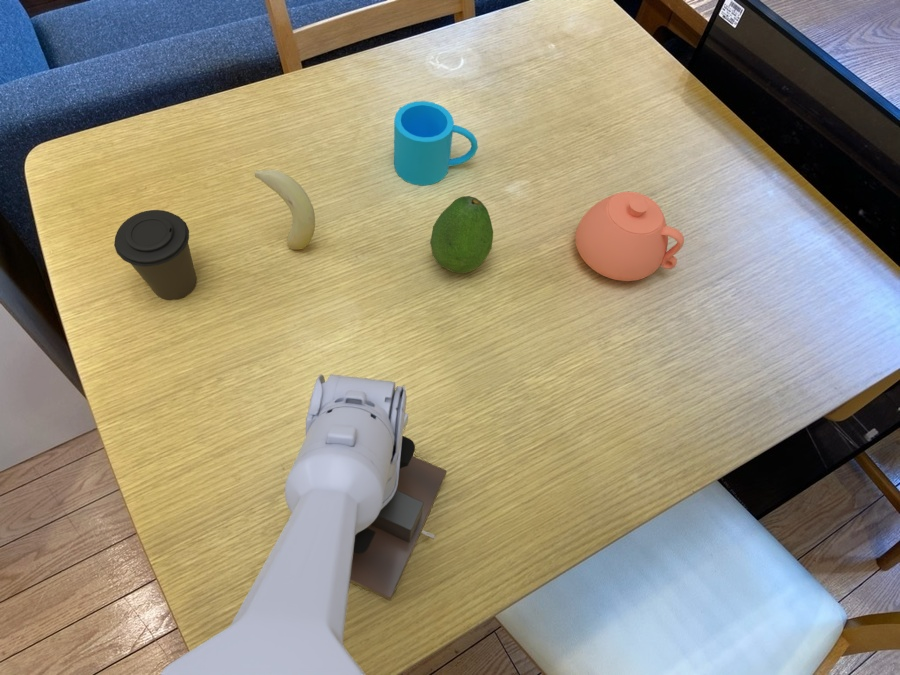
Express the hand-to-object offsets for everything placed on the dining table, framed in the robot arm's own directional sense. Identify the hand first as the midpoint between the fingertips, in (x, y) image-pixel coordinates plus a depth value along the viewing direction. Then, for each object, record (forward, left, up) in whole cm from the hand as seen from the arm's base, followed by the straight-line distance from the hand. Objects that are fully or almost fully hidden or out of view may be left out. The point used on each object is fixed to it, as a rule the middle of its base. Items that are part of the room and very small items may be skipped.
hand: (367, 505), depth 64 cm
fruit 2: (+35, +4, -3) cm, 35 cm away
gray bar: (0, 0, -1) cm, 1 cm away
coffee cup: (+16, +35, -3) cm, 39 cm away
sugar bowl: (+46, -16, -3) cm, 49 cm away
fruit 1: (+28, +25, -3) cm, 38 cm away
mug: (+50, +14, -3) cm, 52 cm away
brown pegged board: (0, 0, -3) cm, 3 cm away
